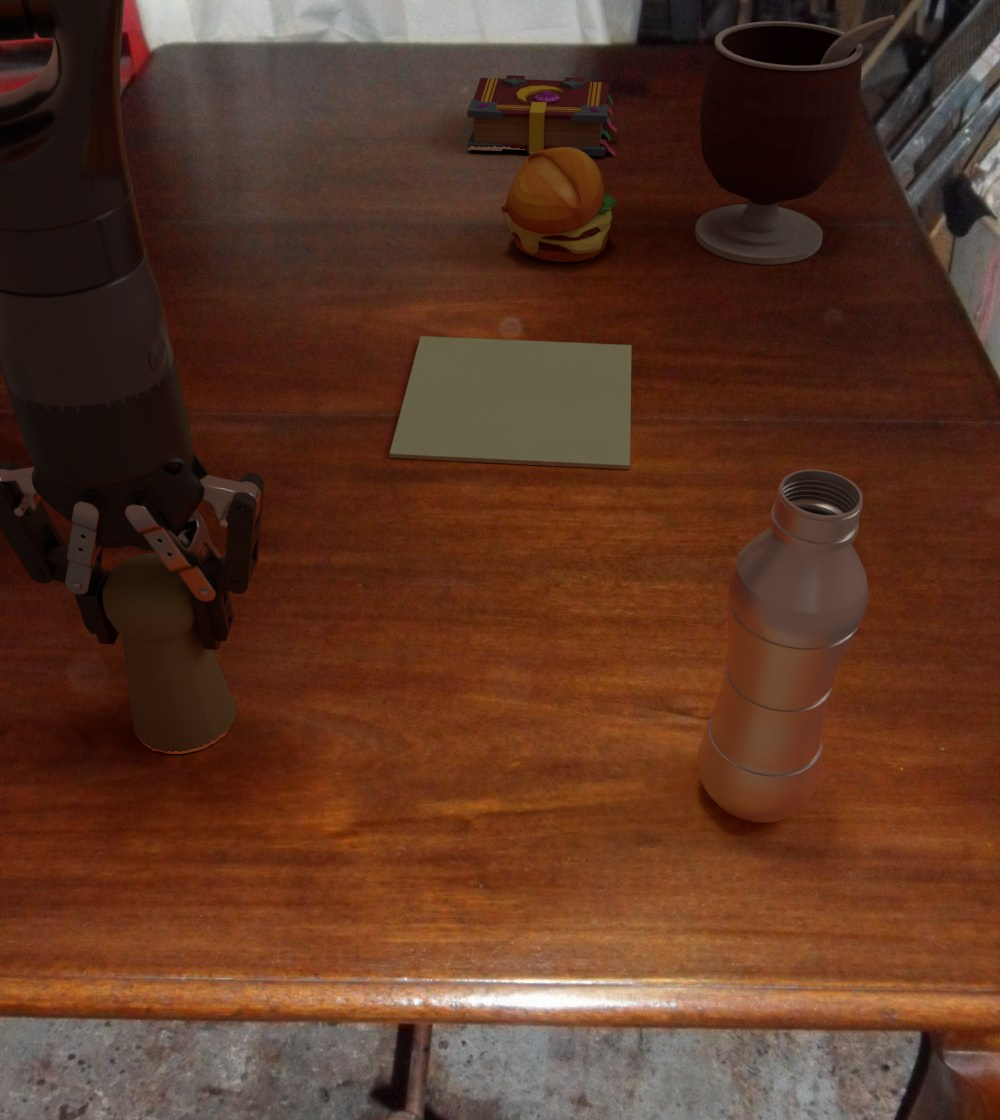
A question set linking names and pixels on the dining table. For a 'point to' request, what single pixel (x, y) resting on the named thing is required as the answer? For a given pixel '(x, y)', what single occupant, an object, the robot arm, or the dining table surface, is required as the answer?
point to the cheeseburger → (559, 206)
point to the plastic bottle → (785, 649)
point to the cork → (166, 657)
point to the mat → (517, 403)
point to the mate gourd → (776, 131)
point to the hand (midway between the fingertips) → (163, 636)
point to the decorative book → (541, 114)
